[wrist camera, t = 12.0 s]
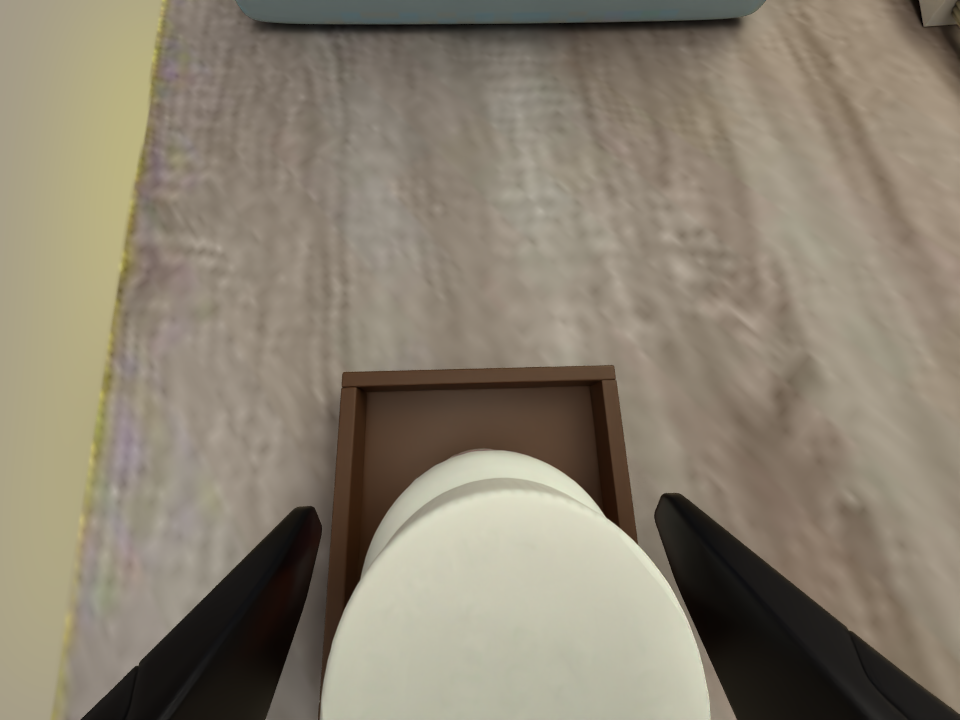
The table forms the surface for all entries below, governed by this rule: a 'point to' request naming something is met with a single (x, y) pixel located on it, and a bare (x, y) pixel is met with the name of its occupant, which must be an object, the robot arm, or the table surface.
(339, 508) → the walnut tray
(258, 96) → the table surface
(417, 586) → the pill bottle
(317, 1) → the touchscreen device
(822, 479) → the table surface
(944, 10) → the chopstick bundle
